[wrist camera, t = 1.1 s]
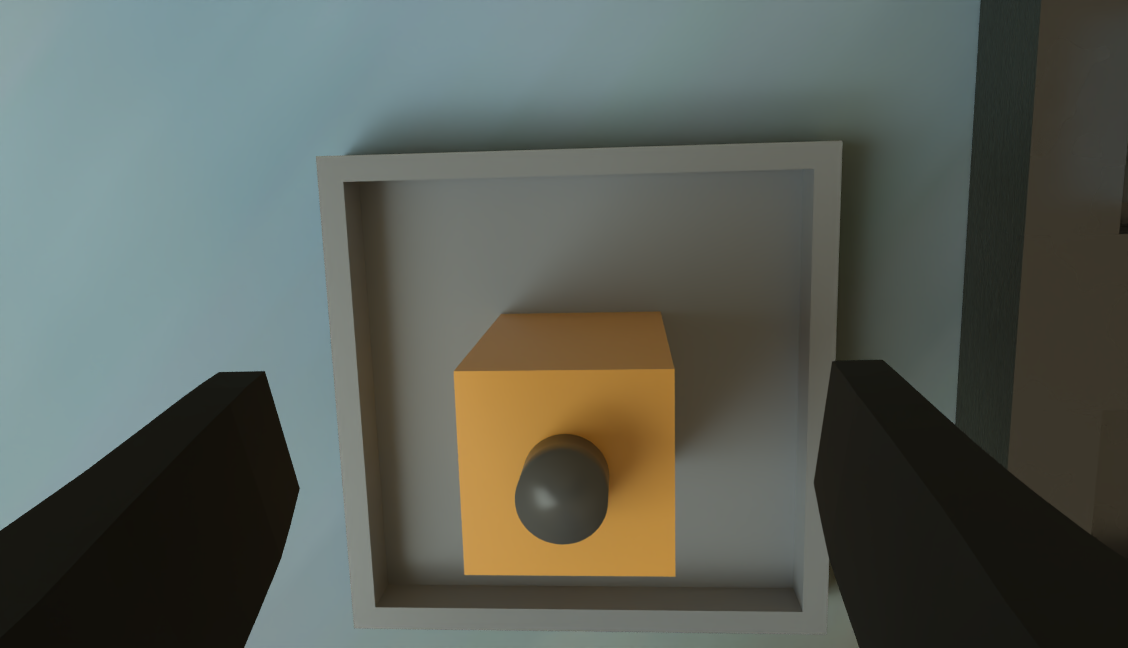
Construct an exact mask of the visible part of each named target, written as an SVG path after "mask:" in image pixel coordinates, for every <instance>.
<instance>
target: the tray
mask: <svg viewBox="0 0 1128 648" xmlns="http://www.w3.org/2000/svg"><path fill="white" fill-rule="evenodd" d="M842 143H843V141H811V142H778V143H745V144H712V145H679V146H646V147H612V148H579V149H546V150H513V151H480V152H447V153H414V154H380V155H347V156H316V163H317V176H318V188H319V200H320V213H321V225H322V237H323V250H324V262H325V274H326V287H327V299H328V312H329V324H330V336H331V349H332V361H333V373H334V386H335V398H336V410H337V423H338V435H339V448H340V460H341V472H342V485H343V497H344V509H345V522H346V534H347V546H348V559H349V571H350V584H351V596H352V608H353V621H354V628H357V629H436V630H515V631H594V632H673V633H752V634H827V611H828V579H829V556H828V552H827V547H826V543H825V538H824V533H823V529H822V524H821V519H820V514H819V509H818V504H817V498H816V493H815V488H814V477H815V470H816V464H817V457H818V450H819V444H820V437H821V431H822V424H823V417H824V411H825V404H826V398H827V391H828V385H829V378H830V371H831V365H832V361H836V330H837V299H838V268H839V236H840V205H841V174H842ZM659 311H661V315H662V319H663V324H664V328H665V332H666V336H667V340H668V344H669V348H670V352H671V356H672V361H673V365H674V369H675V577H663V576H534V575H464V557H463V538H462V520H461V501H460V483H459V464H458V445H457V427H456V408H455V390H454V370H455V369H456V368H457V367H458V365H459V364H460V363H461V362H462V360H463V359H464V358H465V357H466V356H467V354H468V353H469V352H470V351H471V350H472V348H473V347H474V346H475V345H476V344H477V342H478V341H479V340H480V339H481V337H482V336H483V335H484V334H485V333H486V331H487V330H488V329H489V328H490V327H491V325H492V324H493V323H494V322H495V321H496V319H497V318H498V317H499V316H500V314H531V313H595V312H659Z"/></svg>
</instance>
